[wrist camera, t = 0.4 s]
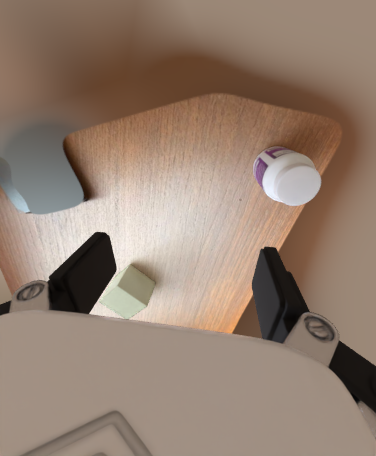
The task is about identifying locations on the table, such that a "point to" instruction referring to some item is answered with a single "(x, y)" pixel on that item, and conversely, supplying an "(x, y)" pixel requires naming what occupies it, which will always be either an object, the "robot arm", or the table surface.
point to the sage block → (128, 292)
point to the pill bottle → (286, 175)
